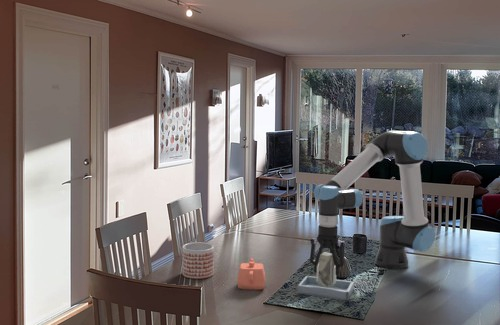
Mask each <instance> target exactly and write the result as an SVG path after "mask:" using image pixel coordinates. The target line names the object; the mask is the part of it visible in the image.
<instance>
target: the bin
mask: <svg viewBox="0 0 500 325" xmlns="http://www.w3.org/2000/svg"><path fill="white" fill-rule="evenodd" d="M316 278H317V276H313V275H312V276H311V275H305V277H303V279H302V280H301V281H300V282H299V284H298V285H297V294H298V295H306V296H314V297H319V298H327V299H328V298H329V299H332V300H333V299H334V300H340V301H349V300H350V298H351V296H352V295H353V294H352V293H353V292H354V290H355V281H350V280H342V279H336V283H335V284H334V285H333V286H330V287H325V286H321V285H319V284H318V282H317V281H316Z"/></svg>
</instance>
